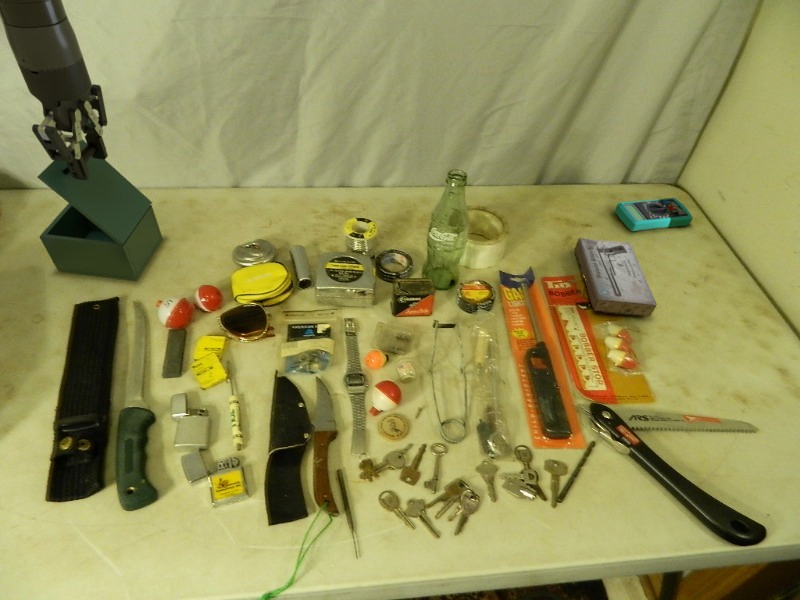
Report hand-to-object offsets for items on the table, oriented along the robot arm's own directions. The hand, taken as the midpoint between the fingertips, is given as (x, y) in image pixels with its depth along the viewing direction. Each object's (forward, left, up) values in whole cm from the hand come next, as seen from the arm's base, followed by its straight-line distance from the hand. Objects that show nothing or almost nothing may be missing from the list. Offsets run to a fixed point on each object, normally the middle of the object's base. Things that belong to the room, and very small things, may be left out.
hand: (91, 167), depth 80 cm
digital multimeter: (+95, +42, -19) cm, 106 cm away
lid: (0, 0, -5) cm, 5 cm away
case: (-3, 0, -18) cm, 19 cm away
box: (+85, +19, -19) cm, 89 cm away
